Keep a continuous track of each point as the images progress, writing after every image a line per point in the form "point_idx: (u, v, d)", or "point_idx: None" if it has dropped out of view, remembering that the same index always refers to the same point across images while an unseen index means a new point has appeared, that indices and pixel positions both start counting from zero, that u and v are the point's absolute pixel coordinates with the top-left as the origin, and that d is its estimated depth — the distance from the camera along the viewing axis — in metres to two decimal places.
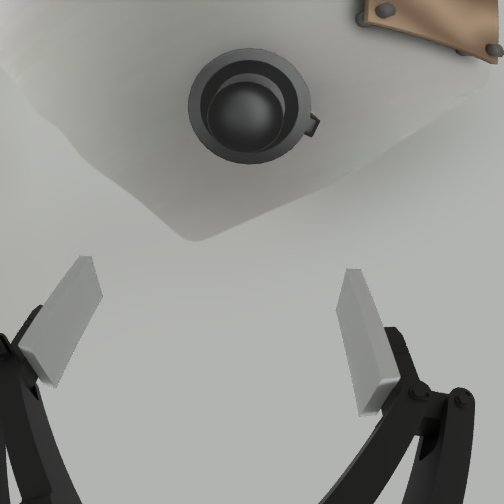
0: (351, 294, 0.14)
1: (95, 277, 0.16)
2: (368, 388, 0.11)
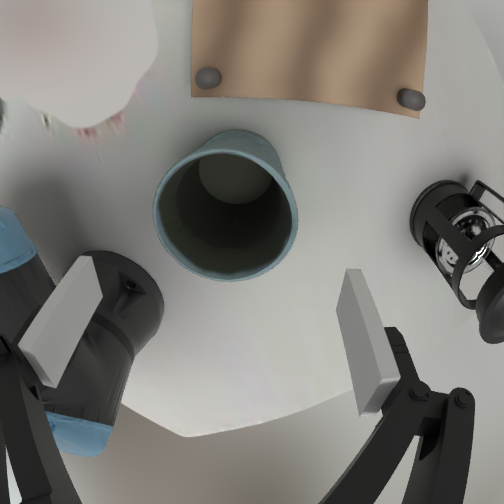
0: (351, 294, 0.14)
1: (95, 277, 0.16)
2: (368, 388, 0.11)
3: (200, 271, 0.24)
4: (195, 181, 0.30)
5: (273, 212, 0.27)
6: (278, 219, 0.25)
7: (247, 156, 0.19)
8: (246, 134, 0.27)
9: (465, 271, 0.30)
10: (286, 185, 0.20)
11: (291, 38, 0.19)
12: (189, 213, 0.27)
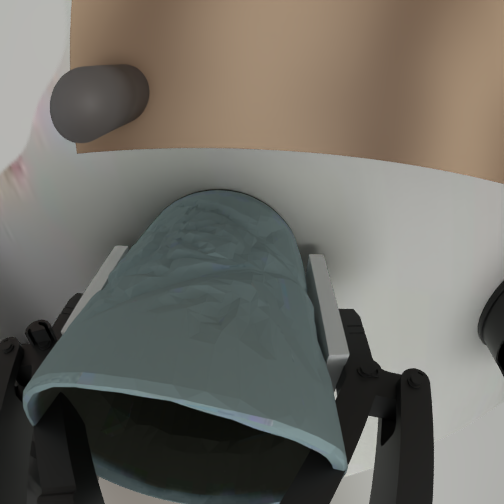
0: (311, 277, 0.15)
1: None
2: None
3: (152, 491, 0.10)
4: None
5: None
6: None
7: (217, 414, 0.05)
8: (232, 210, 0.13)
9: None
10: (332, 448, 0.06)
11: None
12: None
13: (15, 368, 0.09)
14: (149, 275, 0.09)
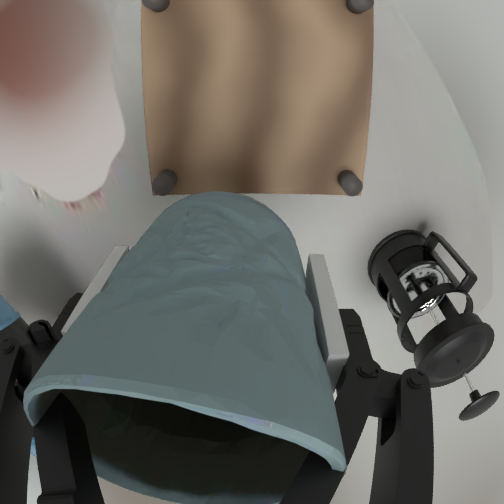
0: (311, 277, 0.15)
1: None
2: None
3: (152, 492, 0.10)
4: None
5: None
6: None
7: (216, 416, 0.05)
8: (232, 212, 0.13)
9: (419, 314, 0.35)
10: (331, 450, 0.06)
11: (234, 136, 0.24)
12: None
13: (15, 368, 0.09)
14: (149, 277, 0.09)
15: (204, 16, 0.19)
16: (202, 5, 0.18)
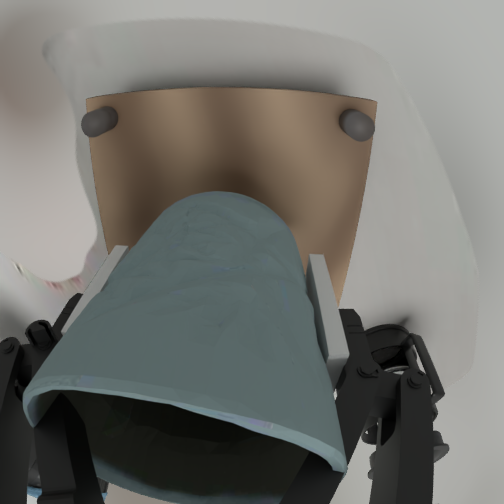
0: (311, 277, 0.15)
1: None
2: None
3: (152, 492, 0.10)
4: None
5: None
6: None
7: (216, 417, 0.05)
8: (232, 212, 0.13)
9: None
10: (332, 451, 0.06)
11: None
12: None
13: (15, 368, 0.09)
14: (149, 277, 0.09)
15: (159, 140, 0.18)
16: (156, 124, 0.18)
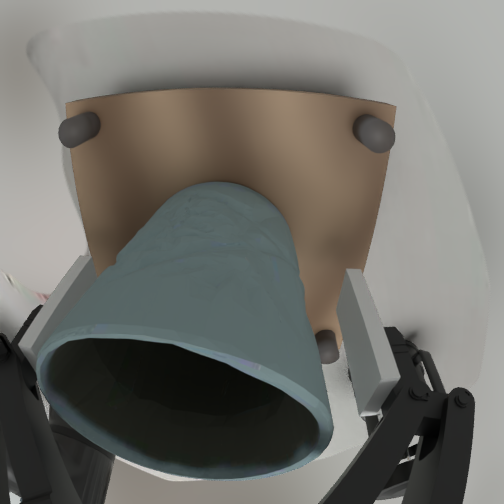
0: (351, 294, 0.14)
1: (95, 277, 0.16)
2: (368, 388, 0.11)
3: (152, 464, 0.11)
4: None
5: None
6: None
7: (212, 356, 0.06)
8: (230, 199, 0.14)
9: None
10: (316, 402, 0.07)
11: None
12: (131, 347, 0.14)
13: None
14: (155, 250, 0.10)
15: (146, 149, 0.16)
16: (143, 131, 0.15)
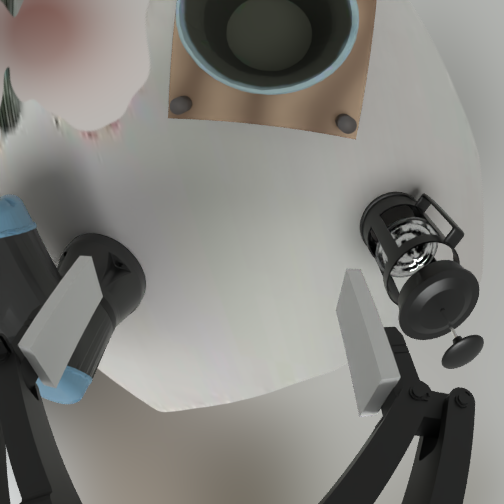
0: (351, 294, 0.14)
1: (95, 277, 0.16)
2: (368, 388, 0.11)
3: (225, 78, 0.16)
4: (222, 34, 0.22)
5: (317, 52, 0.19)
6: (327, 43, 0.16)
7: None
8: None
9: (407, 274, 0.37)
10: None
11: None
12: (214, 44, 0.19)
13: None
14: None
15: None
16: None
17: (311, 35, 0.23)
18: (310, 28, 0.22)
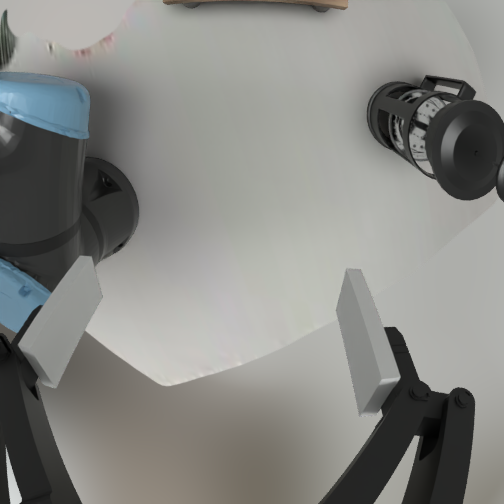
0: (351, 294, 0.14)
1: (95, 277, 0.16)
2: (368, 388, 0.11)
3: None
4: None
5: None
6: None
7: None
8: None
9: (426, 158, 0.31)
10: None
11: None
12: None
13: None
14: None
15: None
16: None
17: None
18: None
